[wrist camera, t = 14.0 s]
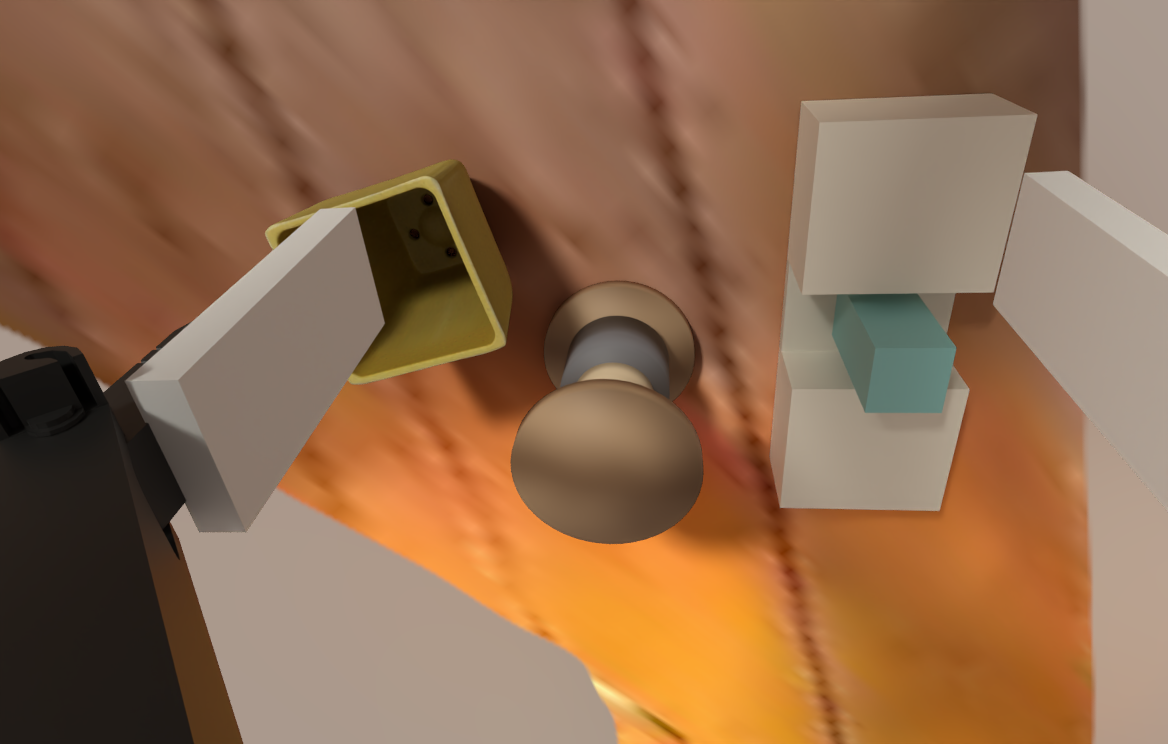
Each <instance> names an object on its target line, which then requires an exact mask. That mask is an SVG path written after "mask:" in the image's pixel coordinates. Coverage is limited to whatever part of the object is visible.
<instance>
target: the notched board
mask: <svg viewBox="0 0 1168 744" xmlns="http://www.w3.org/2000/svg"><path fill="white" fill-rule="evenodd" d="M1037 115H1038V114H1036V113H1034V112H1031V111H1029V110H1027V109H1025V108H1023V107H1021V106H1019V105H1016V104H1014V103H1012V102H1010V101H1008V100H1006V99H1003V98H1001V97H999V96H997V95H995V94H993V93H988V94H963V95H939V96H914V97H890V98H865V99H841V100H816V101H801V109H800V120H799V131H798V143H797V154H796V165H795V176H794V187H793V199H792V210H791V221H790V232H789V243H788V255H787V266H786V277H785V288H784V299H783V311H782V322H781V333H780V344H779V355H778V367H777V378H776V389H775V400H774V411H773V423H772V434H771V445H770V456H769V457H770V462H771V466H772V471H773V476H774V481H775V486H776V491H777V496H778V501H779V505H780V508H812V509H865V510H918V511H940V507H941V503H942V499H943V495H944V491H945V487H946V483H947V479H948V475H949V471H950V467H951V463H952V459H953V455H954V451H955V447H956V443H957V439H958V434H959V430H960V426H961V422H962V418H963V414H964V410H965V406H966V402H967V398H968V394H969V390H970V389H969V388H968V386H967V385H966V383H965V382H964V380H963V379H962V377H961V376H960V375H959V373H958V372H957V370H956V369H955V367H954V366H952V370H951V375H950V379H949V384H948V388H947V392H946V397H945V401H944V406H943V410H942V413H865V412H864V409H863V407H862V405H861V402H860V400H859V398H858V395H857V393H856V391H855V388H854V386H853V383H852V381H851V379H850V376H849V374H848V372H847V369H846V367H845V365H844V362H843V360H842V358H841V355H840V353H839V351H838V348H837V346H836V344H835V341H834V339H833V337H832V330H833V322H834V314H835V307H836V299H837V294H907V293H917V294H918V295H919V296H920V298H921V299H922V301H923V302H924V303H925V305H926V306H927V308H928V309H929V310H930V312H931V313H932V314H933V316H934V317H935V319H936V320H937V321H938V323H939V324H940V326H941V327H942V328H943V330H944V331H945V333H946V334H947V330H948V326H949V321H950V317H951V312H952V308H953V303H954V298H955V294H956V293H988V292H994V289H995V285H996V281H997V277H998V273H999V269H1000V265H1001V261H1002V257H1003V253H1004V249H1005V244H1006V240H1007V236H1008V232H1009V228H1010V224H1011V220H1012V216H1013V212H1014V208H1015V204H1016V200H1017V196H1018V192H1019V188H1020V184H1021V180H1022V176H1023V172H1024V168H1025V164H1026V160H1027V156H1028V152H1029V147H1030V143H1031V139H1032V135H1033V131H1034V127H1035V123H1036V119H1037Z"/></svg>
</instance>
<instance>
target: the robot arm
mask: <svg viewBox="0 0 1168 744" xmlns="http://www.w3.org/2000/svg"><path fill="white" fill-rule="evenodd" d="M993 305H994V307H995V308H996V309H997V310H998V311H999V313H1000V314H1001V315H1002V316H1003V317H1004V318H1005V320H1006V321H1007V322H1008V323H1009V324H1010V326H1011V327H1012V328H1013V329H1014V330H1015V332H1016V333H1017V334H1018V335H1019V336H1020V337H1021V339H1022V340H1023V341H1024V342H1025V343H1026V345H1027V346H1028V347H1029V348H1030V349H1031V351H1032V352H1033V353H1034V354H1035V355H1036V356H1037V358H1038V359H1039V360H1040V361H1041V362H1042V364H1043V365H1044V366H1045V367H1046V368H1047V369H1048V371H1049V372H1050V373H1051V374H1052V375H1053V377H1054V378H1055V379H1056V380H1057V381H1058V383H1059V384H1060V385H1061V386H1062V387H1063V388H1064V390H1065V391H1066V392H1067V393H1068V394H1069V396H1070V397H1071V398H1072V399H1073V400H1074V402H1075V403H1076V404H1077V405H1078V406H1079V407H1080V409H1081V410H1082V411H1083V412H1084V413H1085V415H1086V416H1087V417H1088V418H1089V419H1090V420H1091V422H1092V423H1093V424H1094V425H1095V426H1096V427H1097V429H1098V430H1099V431H1100V432H1101V434H1102V435H1103V436H1104V437H1105V438H1106V439H1107V441H1108V442H1109V443H1110V444H1111V445H1112V447H1113V448H1114V449H1115V450H1116V451H1117V452H1118V454H1119V455H1120V456H1121V457H1122V458H1123V460H1124V461H1125V462H1126V463H1127V464H1128V466H1129V467H1130V468H1131V469H1132V470H1133V471H1134V473H1135V474H1136V475H1137V476H1138V477H1139V479H1140V480H1141V481H1142V482H1143V483H1144V485H1145V486H1146V487H1147V488H1148V489H1149V490H1150V492H1151V493H1152V494H1153V495H1154V496H1155V498H1156V499H1157V500H1158V501H1159V502H1160V503H1161V505H1162V506H1163V507H1164V508H1165V509H1166V511H1167V512H1168V234H1166V233H1165V232H1163V231H1162V230H1160V229H1158V228H1157V227H1155V226H1154V225H1152V224H1151V223H1149V222H1147V221H1146V220H1144V219H1143V218H1141V217H1140V216H1138V215H1137V214H1135V213H1133V212H1132V211H1130V210H1128V209H1127V208H1126V207H1124V206H1122V205H1121V204H1119V203H1118V202H1116V201H1114V200H1113V199H1111V198H1110V197H1108V196H1107V195H1105V194H1104V193H1102V192H1101V191H1099V190H1097V189H1096V188H1094V187H1093V186H1091V185H1090V184H1088V183H1086V182H1085V181H1083V180H1082V179H1080V178H1079V177H1077V176H1076V175H1074V174H1072V173H1071V172H1069V171H1054V172H1035V173H1024V177H1023V181H1022V185H1021V189H1020V193H1019V198H1018V202H1017V206H1016V210H1015V214H1014V218H1013V222H1012V227H1011V231H1010V235H1009V239H1008V243H1007V247H1006V252H1005V256H1004V260H1003V264H1002V268H1001V272H1000V276H999V281H998V285H997V289H996V293H995V297H994V301H993ZM384 324H385V322H384V318H383V314H382V310H381V306H380V303H379V299H378V295H377V291H376V287H375V283H374V279H373V275H372V271H371V267H370V264H369V260H368V256H367V252H366V248H365V244H364V240H363V236H362V232H361V228H360V225H359V221H358V217H357V213H356V209H355V207H349V208H329V209H320V210H318V211H317V212H316V213H315V214H314V215H313V216H312V217H310V218H309V219H308V220H307V221H306V222H305V223H304V224H303V225H301V226H300V227H299V228H298V229H297V230H296V231H295V232H293V233H292V234H291V235H290V236H289V237H288V238H287V239H285V240H284V241H283V242H282V243H281V244H280V245H279V246H278V247H276V248H275V249H274V250H273V251H272V252H271V253H270V254H268V255H267V256H266V257H265V258H264V259H263V260H262V261H261V262H259V263H258V264H257V265H256V266H255V267H254V268H253V269H251V270H250V271H249V272H248V273H247V274H246V275H245V276H243V277H242V278H241V279H240V280H239V281H238V282H237V283H236V284H234V285H233V286H232V287H231V288H230V289H229V290H228V291H226V292H225V293H224V294H223V295H222V296H221V297H220V298H219V299H217V300H216V301H215V302H214V303H213V304H212V305H211V306H209V307H208V308H207V309H206V310H205V311H204V312H203V313H201V314H200V315H199V316H198V317H197V318H196V319H195V320H194V321H192V322H190V323H188V324H186V325H185V326H183V327H181V328H179V329H177V330H175V331H174V332H173V333H172V334H170V335H169V336H168V337H167V338H166V339H165V340H164V341H162V342H161V343H160V344H159V345H158V346H157V347H156V348H157V349H156V350H152V351H151V352H150V353H149V354H147V355H146V356H145V357H144V358H143V359H142V360H141V363H137V364H136V365H135V366H134V367H132V368H131V369H130V370H129V371H128V372H127V373H125V374H124V375H123V376H122V377H121V378H120V379H119V380H117V381H116V382H115V383H114V384H113V385H112V386H111V387H109V388H108V389H107V390H106V391H105V392H104V393H103V392H102V390H101V388H100V386H99V384H98V382H97V380H96V378H95V376H94V374H93V372H92V370H91V368H90V366H89V365H88V363H87V361H86V359H85V357H84V355H83V353H82V352H81V351H80V350H79V349H78V348H75V347H69V346H56V347H45V348H41V349H37V350H33V351H28V352H24V353H22V354H19V355H16V356H13V357H11V358H8V359H5V360H3V361H1V362H0V744H243V741H242V738H241V735H240V732H239V728H238V725H237V722H236V719H235V716H234V712H233V709H232V706H231V703H230V700H229V697H228V693H227V690H226V687H225V684H224V681H223V678H222V675H221V671H220V668H219V665H218V662H217V659H216V655H215V652H214V649H213V646H212V642H211V639H210V636H209V633H208V630H207V627H206V623H205V620H204V617H203V614H202V611H201V608H200V605H199V602H198V598H197V595H196V592H195V589H194V586H193V582H192V579H191V576H190V573H189V570H188V567H187V563H186V560H185V557H184V554H183V551H182V547H181V544H180V541H179V538H178V536H177V534H176V532H175V531H174V529H173V527H172V525H171V523H170V520H171V519H172V518H173V517H174V515H175V514H176V513H177V512H178V510H179V509H180V508H181V507H182V505H183V504H184V503H185V504H186V506H187V508H188V510H189V512H190V514H191V516H192V518H193V520H194V523H195V525H196V527H197V528H198V531H199V532H247V530H248V529H249V527H250V526H251V524H252V523H253V521H254V520H255V518H256V516H257V515H258V514H259V512H260V510H261V509H262V508H263V506H264V505H265V503H266V502H267V500H268V499H269V497H270V495H271V494H272V493H273V491H274V490H275V488H276V487H277V485H278V484H279V482H280V481H281V479H282V478H283V476H284V475H285V473H286V472H287V470H288V469H289V467H290V466H291V464H292V463H293V461H294V460H295V458H296V457H297V455H298V454H299V452H300V451H301V449H302V448H303V446H304V445H305V443H306V442H307V440H308V438H309V437H310V435H311V434H312V432H313V431H314V429H315V428H316V426H317V425H318V423H319V422H320V420H321V419H322V417H323V416H324V414H325V413H326V411H327V410H328V408H329V407H330V405H331V404H332V402H333V401H334V399H335V398H336V396H337V395H338V393H339V392H340V390H341V389H342V387H343V386H344V384H345V383H346V381H347V380H348V378H349V377H350V375H351V374H352V372H353V371H354V369H355V368H356V366H357V365H358V363H359V362H360V360H361V359H362V357H363V356H364V354H365V353H366V351H367V350H368V348H369V347H370V345H371V344H372V342H373V341H374V339H375V338H376V336H377V335H378V333H379V332H380V330H381V329H382V327H383V326H384Z"/></svg>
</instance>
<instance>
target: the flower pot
mask: <svg viewBox="0 0 1168 744" xmlns="http://www.w3.org/2000/svg"><path fill="white" fill-rule="evenodd" d="M425 195H430V196H431V197H432V199H433V202H432V204H426V203H425V202H424V200H423V198H424V196H425ZM349 207H355V209H356V213H357V217H358V221H359V225H360V228H361V232H362V236H363V240H364V244H365V248H366V252H367V256H368V260H369V264H370V267H371V271H372V275H373V279H374V283H375V287H376V291H377V295H378V299H379V303H380V306H381V310H382V314H383V318H384V322H385V324H384V326H383V327H382V329H381V330H380V332H379V333H378V335H377V336H376V338H375V339H374V341H373V342H372V344H371V345H370V347H369V348H368V350H367V351H366V353H365V354H364V356H363V357H362V359H361V360H360V362H359V363H358V365H357V366H356V368H355V369H354V371H353V372H352V374H351V375H350V377H349V378H348V381H349V382H350V383H351V384H356V385H358V384H366V383H370V382H374V381H379V380H383V379H387V378H391V377H395V376H398V375H402V374H406V373H410V372H413V371H418V370H422V369H425V368H429V367H433V366H436V365H441V364H445V363H449V362H453V361H457V360H460V359H465V358H469V357H473V356H477V355H482V354H485V353H489V352H492V351H495V350H497V349H500V348H502V347H504V346H505V345H506V340H507V333H508V327H509V320H510V313H511V306H512V296H513V295H512V285H511V281H510V277H509V274H508V271H507V268H506V266H505V263H504V261H503V258H502V256H501V254H500V252H499V249H498V247H497V244H496V242H495V240H494V237H493V235H492V232H491V230H490V228H489V225H488V223H487V220H486V218H485V215H484V213H483V211H482V208H481V206H480V203H479V201H478V198H477V196H476V193H475V191H474V188H473V186H472V183H471V181H470V178H469V175H468V173H467V171H466V168H465V167H464V165H463V164H462V163H461V162H460V161H457V160H446V161H443V162H440V163H437V164H434V165H431V166H429V167H426V168H423V169H420V170H417V171H414V172H411V173H409V174H406V175H403V176H400V177H397V178H394V179H391V180H388V181H385V182H382V183H378V184H375V185H372V186H369V187H366V188H363V189H360V190H356V191H353V192H350V193H347V194H344V195H340V196H337V197H333V198H330V199H327V200H325V201H322V202H320V203H318V204H316V205H314V206H312V207H310V208H307V209H305V210H303V211H301V212H299V213H297V214H295V215H293V216H291V217H288V218H286V219H284V220H282V221H280V222H278V223H275V224H274V225H272V226H270V227H269V228H268V229H267V230H266V232H265V235H266V238H267V240H268V242H269V244H270V246H271V248H272V249H273V250H274V249H275V248H276V247H278V246H279V245H280V244H281V243H282V242H283V241H284V240H285V239H287V238H288V237H289V236H290V235H291V234H292V233H293V232H295V231H296V230H297V229H298V228H299V227H300V226H301V225H303V224H304V223H305V222H306V221H307V220H308V219H309V218H310V217H312V216H313V215H314V214H315V213H316V212H317V211H318V210H320V209H329V208H349ZM412 229H415V230H417V231H418V232H419V237H418V238H413V237H412V236H411V235H410V231H411V230H412ZM449 247H451V248H454V249H455V250H456V255H455V256H449V255H448V254H447V249H448V248H449Z"/></svg>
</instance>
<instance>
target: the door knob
mask: <svg viewBox="0 0 1168 744" xmlns="http://www.w3.org/2000/svg"><path fill="white" fill-rule="evenodd" d="M694 359H695V353H694V339H693V335H692V331H691V328H690V325H689V323H688V321H687V319H686V317H685V315H684V314H683V313H682V311H681V310H680V308H679V307H678V306H677V305H676V304H675V303H674V302H673V301H672V300H671V299H669V298H668V297H667V296H665V295H664V294H662V293H661V292H659V291H657V290H655V289H653V288H651V287H649V286H646V285H643V284H639V283H635V282H629V281H607V282H602V283H597V284H594V285H591V286H588V287H586V288H584V289H581V290H579V291H578V292H576V293H575V294H573V295H572V296H570V297H569V298H568V299H567V300H566V301H565V302H564V303H563V304H562V305H561V306H560V307H559V308H558V310H557V311H556V313H555V314H554V316H553V318H552V320H551V322H550V324H549V328H548V331H547V335H546V338H545V343H544V360H545V366H546V369H547V372H548V375H549V377H550V379H551V381H552V383H553V384H554V386H555V387H556V390H554V391H552V392H551V393H549V394H547V395H546V396H544V397H543V398H542V399H541V400H539V401H538V402H537V403H536V404H535V405H534V406H533V407H532V408H531V409H530V410H529V411H528V413H527V414H526V416H525V417H524V419H523V420H522V422H521V424H520V426H519V429H518V432H517V435H516V438H515V442H514V445H513V449H512V454H511V472H512V477H513V481H514V484H515V486H516V489H517V491H518V493H519V495H520V497H521V498H522V500H523V501H524V503H525V504H526V505H527V507H528V508H529V509H530V510H531V511H532V512H533V513H534V514H535V515H536V516H537V517H538V518H539V519H541V520H542V521H543V522H544V523H546V524H547V525H549V526H551V527H552V528H554V529H556V530H557V531H559V532H561V533H563V534H566V535H568V536H571V537H574V538H577V539H580V540H584V541H589V542H595V543H604V544H623V543H631V542H636V541H640V540H645V539H648V538H650V537H653V536H656V535H658V534H660V533H662V532H664V531H666V530H668V529H669V528H671V527H672V526H674V525H675V524H676V523H678V522H679V521H680V520H681V519H682V518H683V517H684V516H685V515H686V514H687V513H688V512H689V511H690V509H691V508H692V506H693V505H694V503H695V502H696V500H697V497H698V495H699V493H700V490H701V486H702V481H703V459H702V449H701V444H700V440H699V437H698V435H697V432H696V430H695V428H694V426H693V425H692V423H691V421H690V420H689V419H688V417H687V416H686V415H685V414H684V412H683V411H682V410H681V409H680V408H679V407H677V406H676V405H675V404H674V403H673V401H674V400H675V399H676V398H677V397H678V396H679V395H680V394H681V392H682V391H683V390H684V388H685V387H686V385H687V383H688V382H689V379H690V377H691V374H692V371H693V367H694Z"/></svg>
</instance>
